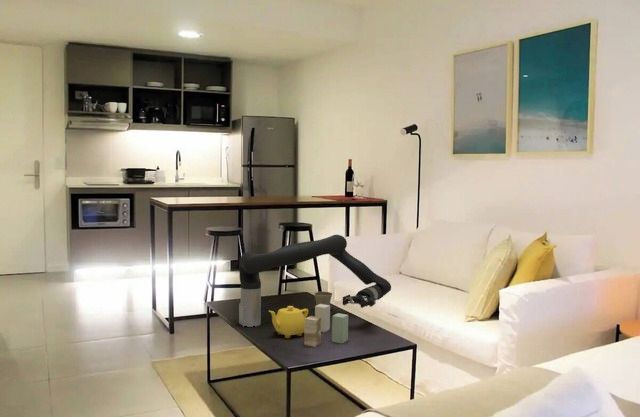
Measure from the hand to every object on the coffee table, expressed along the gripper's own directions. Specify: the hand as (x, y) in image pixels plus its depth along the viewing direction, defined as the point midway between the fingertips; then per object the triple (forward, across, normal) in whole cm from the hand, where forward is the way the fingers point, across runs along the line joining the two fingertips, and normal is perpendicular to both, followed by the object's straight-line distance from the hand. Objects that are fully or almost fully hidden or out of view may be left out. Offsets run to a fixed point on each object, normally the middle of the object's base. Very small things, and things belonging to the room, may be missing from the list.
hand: (352, 304), depth 245 cm
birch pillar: (+21, -8, +13) cm, 26 cm away
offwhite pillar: (+2, -14, +13) cm, 19 cm away
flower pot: (-28, -30, +14) cm, 43 cm away
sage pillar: (+12, 0, +13) cm, 18 cm away
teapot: (+15, -23, +13) cm, 31 cm away
